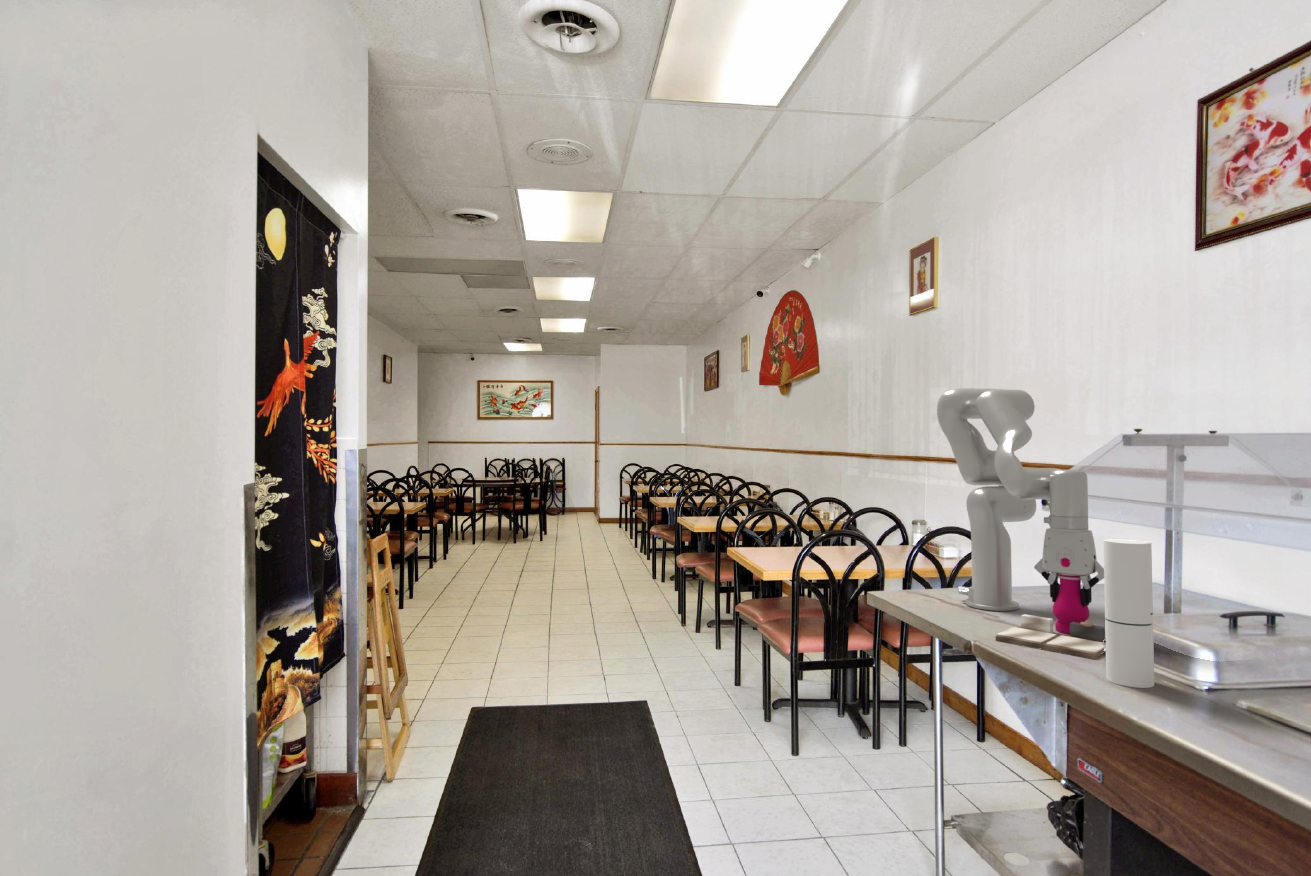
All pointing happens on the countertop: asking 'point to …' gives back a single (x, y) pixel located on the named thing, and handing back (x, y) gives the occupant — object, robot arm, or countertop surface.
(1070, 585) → the pepper mill
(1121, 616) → the cylindrical container
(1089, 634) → the board
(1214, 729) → the countertop surface
